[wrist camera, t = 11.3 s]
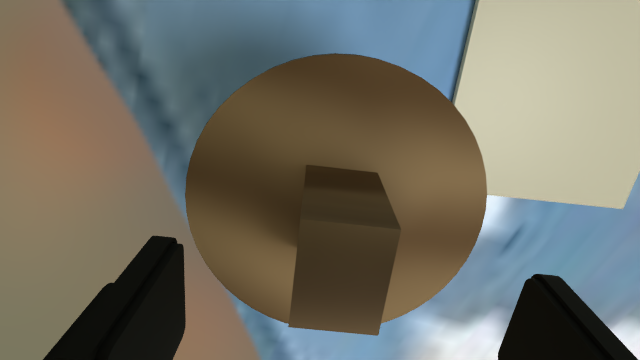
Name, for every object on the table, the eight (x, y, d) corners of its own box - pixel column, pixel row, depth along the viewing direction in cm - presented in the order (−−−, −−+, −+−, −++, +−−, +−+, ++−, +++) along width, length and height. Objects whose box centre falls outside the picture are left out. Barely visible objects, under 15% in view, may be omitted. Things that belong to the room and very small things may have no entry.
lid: (192, 34, 15) (116, 34, 9) (514, 74, 16) (623, 97, 10) (192, 303, 20) (141, 411, 14) (440, 327, 20) (487, 440, 15)
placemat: (504, -123, 23) (509, -127, 22) (743, -90, 23) (753, -93, 23) (432, 186, 30) (434, 189, 29) (617, 205, 31) (623, 209, 30)
